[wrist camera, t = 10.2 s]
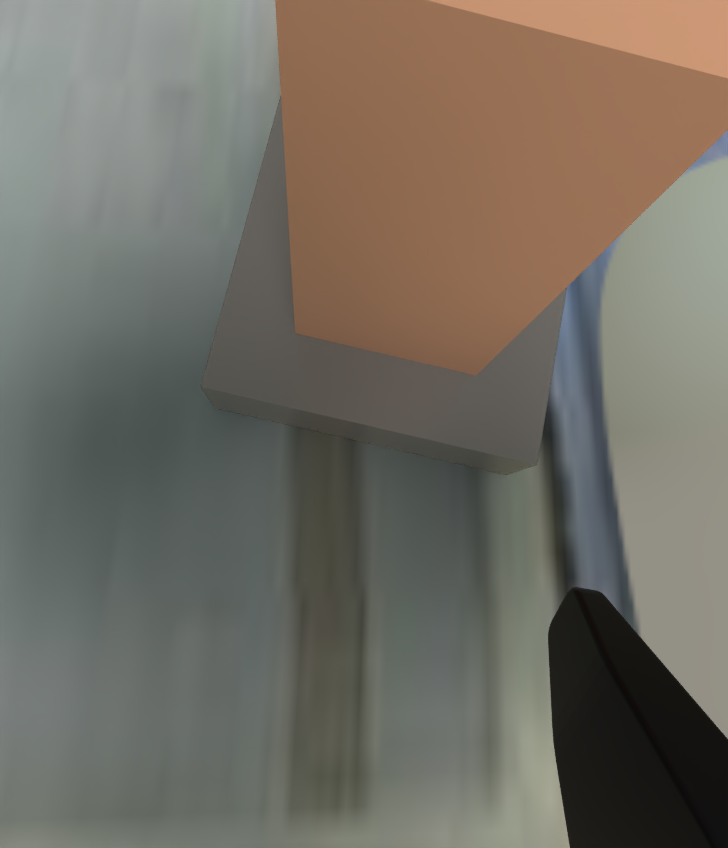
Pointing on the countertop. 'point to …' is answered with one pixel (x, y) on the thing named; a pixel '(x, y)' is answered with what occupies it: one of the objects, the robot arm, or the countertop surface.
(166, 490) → the countertop surface
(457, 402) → the plinth
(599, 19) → the tall block
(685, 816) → the robot arm
